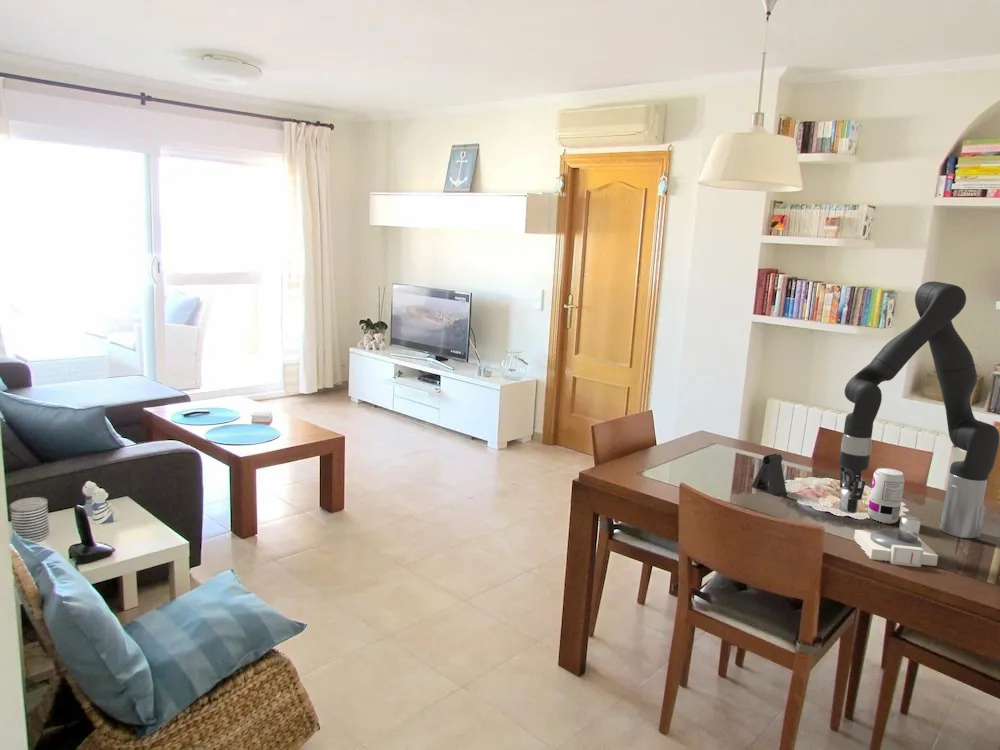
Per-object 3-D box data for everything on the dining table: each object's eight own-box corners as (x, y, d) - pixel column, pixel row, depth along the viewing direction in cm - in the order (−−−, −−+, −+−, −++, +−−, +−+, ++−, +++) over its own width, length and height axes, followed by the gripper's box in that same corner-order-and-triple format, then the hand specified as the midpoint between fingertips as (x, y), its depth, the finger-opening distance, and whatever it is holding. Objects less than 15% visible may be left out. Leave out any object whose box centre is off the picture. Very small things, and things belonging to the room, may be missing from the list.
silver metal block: (912, 537, 195) (916, 516, 194) (920, 544, 190) (924, 522, 189) (894, 535, 195) (898, 514, 194) (901, 542, 191) (905, 520, 190)
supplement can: (863, 518, 217) (870, 470, 214) (872, 512, 223) (880, 465, 220) (892, 526, 212) (900, 477, 209) (901, 520, 217) (909, 472, 215)
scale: (915, 545, 199) (917, 529, 198) (940, 569, 184) (943, 552, 184) (853, 539, 201) (856, 523, 200) (873, 562, 186) (876, 545, 186)
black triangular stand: (751, 487, 241) (755, 452, 238) (762, 484, 244) (767, 450, 242) (774, 495, 233) (779, 459, 231) (786, 492, 237) (790, 457, 234)
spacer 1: (853, 507, 208) (856, 487, 206) (859, 513, 203) (862, 493, 202) (837, 506, 208) (839, 486, 207) (842, 512, 204) (844, 492, 203)
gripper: (879, 459, 195) (871, 519, 198) (861, 444, 209) (853, 500, 212) (849, 457, 196) (842, 516, 199) (833, 442, 210) (826, 498, 213)
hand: (848, 508), depth 206 cm, fingers closed on spacer 1, 4 cm apart
